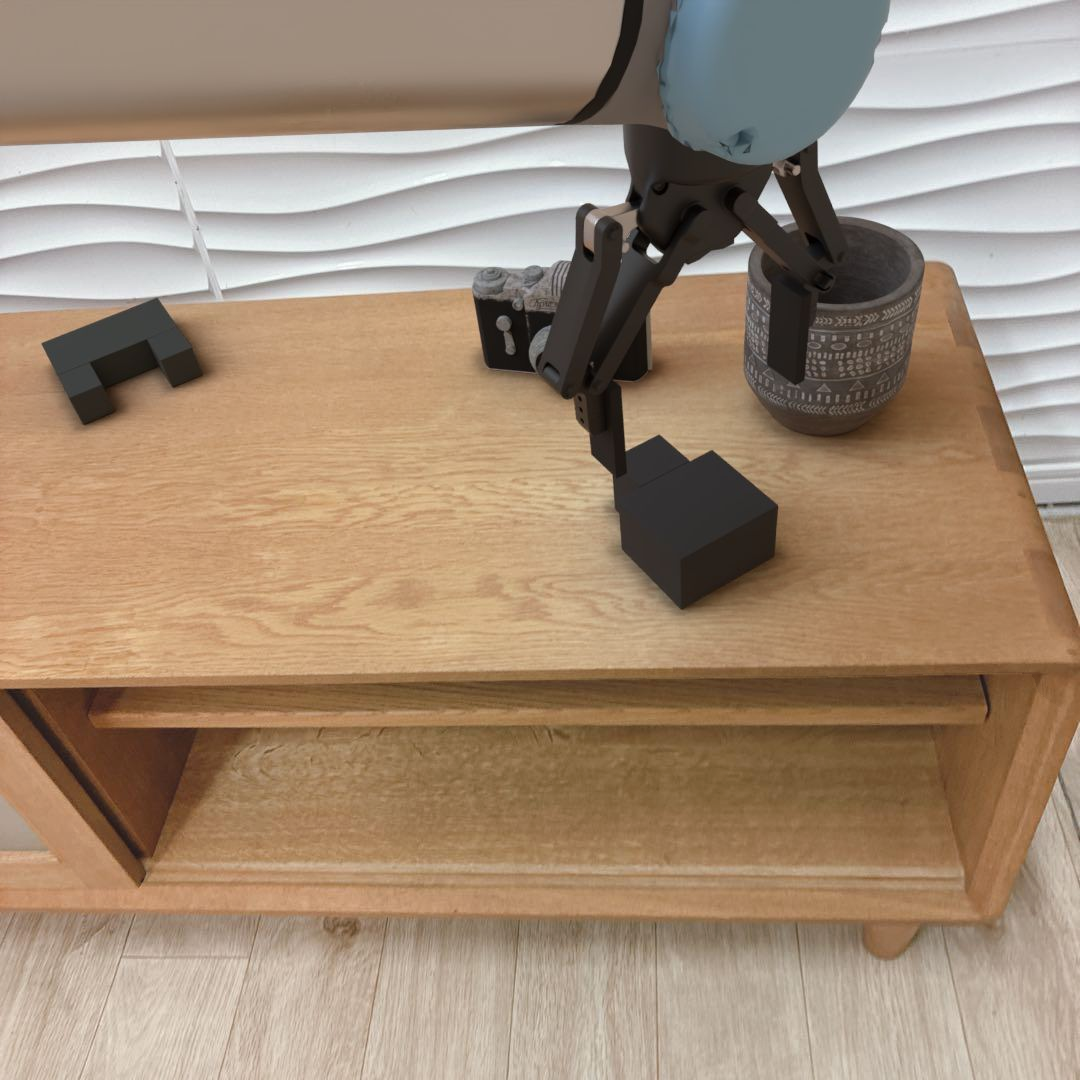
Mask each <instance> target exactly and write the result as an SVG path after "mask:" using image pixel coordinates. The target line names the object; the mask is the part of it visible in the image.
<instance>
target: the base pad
mask: <svg viewBox="0 0 1080 1080" xmlns="http://www.w3.org/2000/svg"><path fill="white" fill-rule="evenodd" d="M41 347H42V349H43V351H44V352H45V355H46V356H47V358H48V360H49V362H50V363H51V366H52V369H53V370H54V372H55V374H56V376H57V378H58V380H59V382H60V385H61V386H62V387H63V390H64V392H65V394H66V395H67V397H68V400H69V401H70V404H71V405H72V408H73V409H74V411H75V413H76V415H77V416H78V418H79V420H80V422H81V424H82V425H86V424H89V423H92V422H93V421H96V420H98V419H100V418H102V417H105V416H109V415H110V414H112V413H115V412H116V410H115V407H114V405H113V403H112V401H111V399H110V397H109V396H108V393H107V391H106V388H108V387H111V386H114V385H117V384H118V383H121V382H123V381H125V380H128V379H130V378H133V377H135V376H138V375H140V374H143V373H145V372H147V371H150V370H152V369H154V368H157V367H158V368H159V369H160V370H161V372H162V374H163V375H164V377H165V379H166V380H167V381H168V384H170V387H171V388H174V387H177V386H179V385H181V384H184V383H187V382H189V381H191V380H193V379H196V378H198V377H200V376H203V375H204V373H203V371H202V369H201V366H200V363H199V361H198V358H197V356H196V353H195V351H194V349H193V346H192V345H191V344H190V343H189V341H188V340H187V338H186V337H185V335H184V334H183V333H182V331H181V330H180V328H179V326H178V325H177V324H176V322H175V320H174V319H173V317H172V316H171V315H170V313H169V312H168V310H167V309H166V308H165V306H164V305H163V303H162V302H161V301H160V299H159V298H158V297H155V298H153V299H150V300H147V301H145V302H142V303H139V304H137V305H135V306H132V307H130V308H127V309H125V310H124V309H123V310H122V311H119V312H117V313H114V314H112V315H109V316H107V317H104V318H102V319H101V318H100V319H99V320H96V321H94V322H91V323H89V324H86V325H83V326H81V327H78V328H76V329H73V330H70V331H68V332H66V333H63V334H61V335H58V336H55V337H53V338H50V339H48V340H45V341H42V342H41Z"/></svg>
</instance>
